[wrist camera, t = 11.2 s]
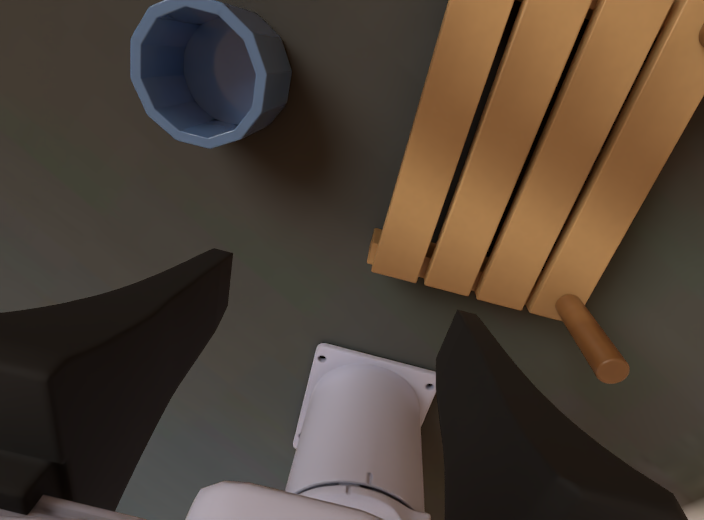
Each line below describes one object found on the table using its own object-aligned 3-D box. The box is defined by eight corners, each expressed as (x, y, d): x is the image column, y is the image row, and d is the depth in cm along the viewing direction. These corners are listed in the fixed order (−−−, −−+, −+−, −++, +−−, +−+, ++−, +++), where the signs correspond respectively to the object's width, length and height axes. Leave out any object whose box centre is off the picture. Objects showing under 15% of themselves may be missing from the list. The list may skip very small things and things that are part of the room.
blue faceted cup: (281, 143, 22) (255, 161, 18) (177, 116, 22) (129, 128, 18) (299, 24, 19) (274, 16, 16) (182, -7, 19) (129, -22, 16)
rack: (559, 296, 24) (628, 398, 17) (369, 246, 24) (355, 328, 17) (708, 15, 18) (918, -15, 11) (452, -53, 18) (487, -129, 10)
